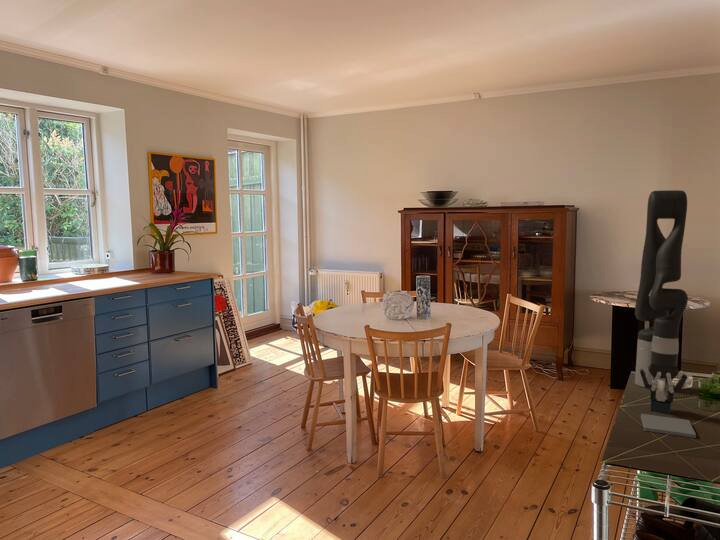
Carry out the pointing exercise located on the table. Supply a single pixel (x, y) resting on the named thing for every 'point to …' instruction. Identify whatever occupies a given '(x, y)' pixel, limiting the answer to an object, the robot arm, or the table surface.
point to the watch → (661, 398)
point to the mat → (667, 425)
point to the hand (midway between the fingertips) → (661, 402)
